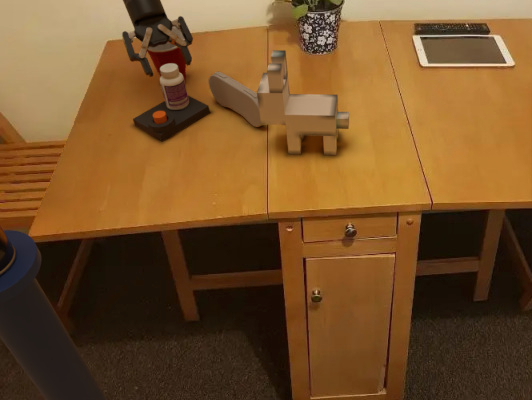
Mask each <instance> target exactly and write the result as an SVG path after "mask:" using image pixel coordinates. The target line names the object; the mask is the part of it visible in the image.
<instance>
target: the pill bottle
mask: <svg viewBox="0 0 532 400" xmlns="http://www.w3.org/2000/svg"><path fill="white" fill-rule="evenodd" d="M160 73H161V75H162V76H161V77H160V76H159V83H160V88H161V92H162V96H163V98H164V101H165V102H166V106H167V107H168V108H169V109H171V110H180V109H183V108H185V107H186V106H188V104H189V98H188V96H189V95H188V90H187V86H186V82H185V81H186V80H185V81H184V77H183V75H182V74H181V73H180V72H179V69H178V66H177V65H176V64H174V63H169V64H165V65H163V66H161V67H160Z"/></svg>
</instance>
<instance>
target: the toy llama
mask: <svg viewBox="0 0 532 400" xmlns="http://www.w3.org/2000/svg"><path fill="white" fill-rule="evenodd" d="M270 61H271V63H268V65H267V68H266V72H262V75H261V79H260V82H259V85H258V88H257V91H256V93H257V97H258V104H259V112H260V119H261V125H262V126H265V125H267V126H270V125H271V126H285V131H286V142H287V152H288V155H301V153H302V148H303V145H302V141H304V138H305V136H312V137H313V136H315V137H316V136H317V137H322V139H323V156H337V151H338V141H339V135H340V134H339V130H349V127H350V111H339V101H338V98H339V97H338V96H339V95H338V94H327V93H326V94H323V93H322V94H321V93H320V94H319V93H318V94H317V93H315V94H314V93H290V84H289V83H290V82H289V72H288V64H287V63H288V62H287V51H286V50H285V49H284V50H283V49H282V50H278V49H277V50H276V49H275V50H274V49H273V50H272V51H271V55H270Z"/></svg>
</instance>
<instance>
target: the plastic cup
mask: <svg viewBox="0 0 532 400" xmlns="http://www.w3.org/2000/svg"><path fill="white" fill-rule="evenodd" d="M172 32H173V33H175V34H176V35H178V37H179V38H181V39H182V40H185V39H184V37H183V35H182V33H181V31H180V30H178V29H177V28H176V27H174V26H173V27H172ZM140 43H141V44H142V43H143V42H142V41H141V42H140ZM147 53H148V55H149V57H150V59H151V61H152V63H153V65H154V68H155V69H156V72H157V73H158V75H159V78H160V77H161V76H162V75H161V73H160V67H161V66H163V65H165V64H169V63H174V64H176V65H177V66H178V69H179V72H180V73H181V74H182V75H183V77H184V81H187V79H186V78H187V65H186V63H185V60H184V58H183V56H182V53H181V49H180V48H178V47H177V46H175V45H172V44H171V43H169V42H167V43H166V44H164V45H158V46H156V47H150V46H149V47H148V50H147Z"/></svg>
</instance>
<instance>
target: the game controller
mask: <svg viewBox="0 0 532 400" xmlns="http://www.w3.org/2000/svg"><path fill="white" fill-rule="evenodd" d="M208 86H209V90H210V92H211V95H212V97H213V98H214V99H215V101H216V102H217V103H218V104H219V105H220V106H222V107H223V108H229V109H231V110H232V111H234V112H236V113H238V114H239V115H241V116H242V117H243V118H244V119H245V120H246V121H247V123H248V124H250V125H251V126H253V127H255V128H259V127H262V126H263V125H261V119H260V112H259V104H258V97H257V91H254V90H253V89H251V88H249V87H248V86H246V85H244V84H243V83H242V82H240V81H238V80H236V79H234V78H233V77H230V76H229V75H227V74H226V73H224V72H221V71H215V72H214V73H213V74H211V75H210V76H209V78H208Z"/></svg>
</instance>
